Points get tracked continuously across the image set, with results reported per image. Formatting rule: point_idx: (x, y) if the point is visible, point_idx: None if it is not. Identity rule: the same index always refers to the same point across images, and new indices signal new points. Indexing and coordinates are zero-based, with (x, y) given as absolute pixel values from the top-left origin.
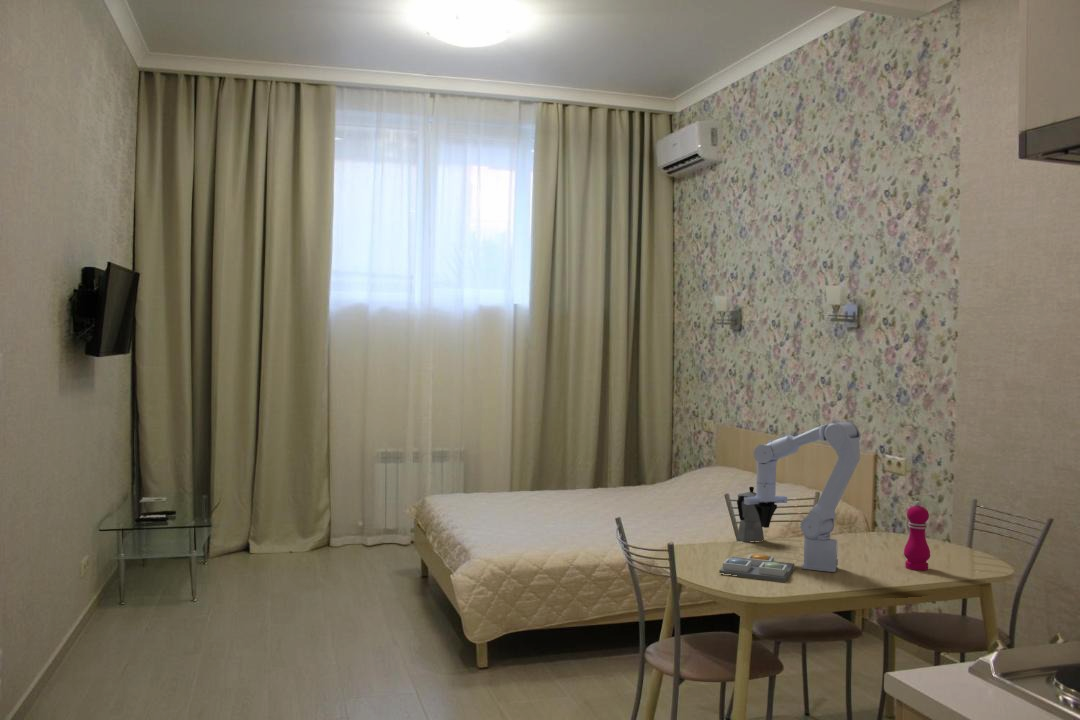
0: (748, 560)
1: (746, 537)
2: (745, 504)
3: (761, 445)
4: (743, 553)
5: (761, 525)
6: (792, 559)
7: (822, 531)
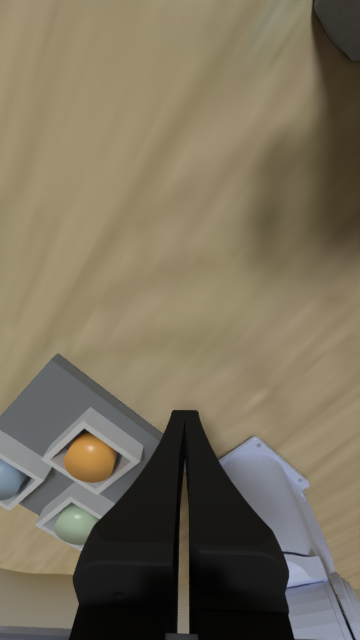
0: (36, 476)
1: (337, 2)
2: None
3: None
4: (150, 270)
5: (170, 417)
6: (259, 388)
7: None
